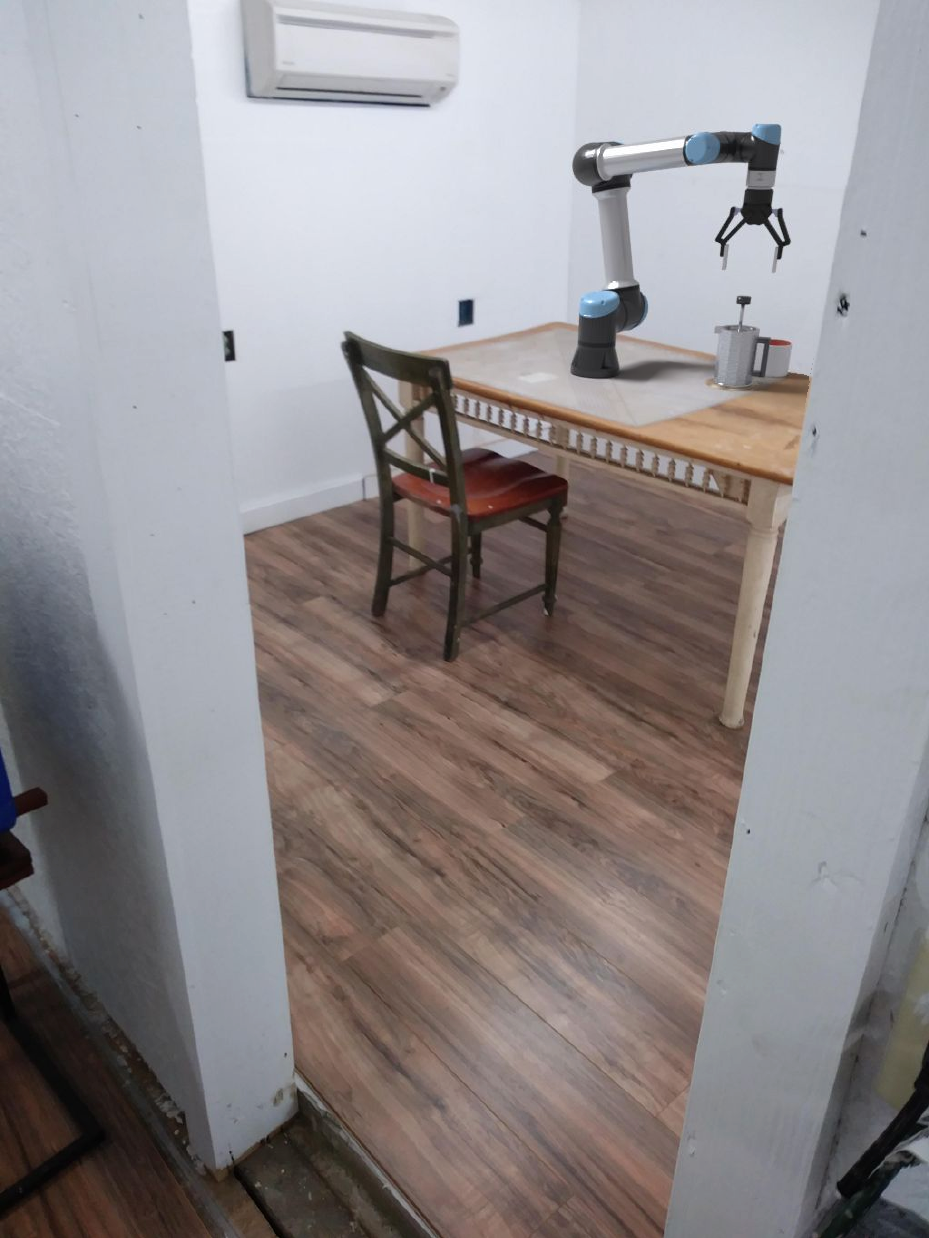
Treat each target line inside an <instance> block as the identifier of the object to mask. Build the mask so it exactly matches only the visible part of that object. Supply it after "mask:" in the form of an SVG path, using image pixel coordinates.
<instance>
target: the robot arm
mask: <svg viewBox="0 0 929 1238" xmlns="http://www.w3.org/2000/svg"><path fill="white" fill-rule="evenodd" d="M781 138H782V126H781V124H779V123H755V124H754V125H753V126H752V129H751V131H747V132H744V131H726V130H723V131H715V132H710V131H702V132H698V133H695V134H691V135H690V134H689V135H681V136H674V137H667V138H661V139H655V140H654V139H653V140H647V141H641V142H633V143H626V144H625V143H623V142H620V141H615V140H614V141H613V140H612V141H601V142H596V141H595V142H588V143H585V144H584V145H582V146H580V147H579V148H578V149H577V151H576V152H575V153H574V156H573V159H572V162H571V163H572V164H571V167H572V172H573V175H574V177H575V179H576V180H577V181H578V183H580V184H582V185H583V186H586V187H591V188H590V189H591V195H592V197H594V198H595V199H596V200H597V205H598V215H599V225H600V227H599V228H600V237H601V245H602V246H601V247H602V256H603V266H604V275H605V276H604V277H605V284H604V286H603V287H602V288H601V290H598V291H591V292H587V293H585V294H583V296H581V298H580V301H579V302H580V303H579V307H578V328H577V329H578V331H577V344H576V345H577V346H576V350H575V352H574V354H573V357H572V358H571V359H572V360H571V362H570V367H569V368H570V369H569V370H570V373H571V374H573V375H576V376H578V377H582V378H597V379H599V378H603V379H604V378H611V377H616V376H618V375H619V374H620V368H621V367H620V361H619V357H618V353H617V348H616V343H617V342H616V341H617V334H619V333H623V332H627V331H632V330H634V329H635V328H637V327H639V326H641V324H643V322H644V321H645V320H646V318H647V316H648V312H649V303H648V299H647V297H646V295H645V294H644V293H643V292H642V291H641V288H640V282H639V281H638V280H636V279H635V276H634V264H633V255H632V243H631V234H630V232H631V231H630V230H631V229H630V222H629V221H630V219H629V210H628V197H627V195H628V193H629V192H630V190H631V188H632V186H631V185H632V184H631V179H632V178H633V176H634V174H637V173H638V174H639V173H647V172H654V171H662V170H671V169H677V168H678V169H680V168H687V167H695V166H704V165H705V166H706V165H711V164H716V165H717V164H725V163H727V164H729V163H730V164H739V163H740V164H741V163H743V164H747V170H746V171H747V172H746V178H745V179H746V180H745V187H747V188H745V190H744V192H743V193H744V196H743V203H742V206H741V207H737V206H734V205H733V206H732V207H730V210H729V215H728V217H727V218H726V220H725V222H724V223H723V225H722V226H721V228H720V230H719V231H718V233H717V234H716V236H715V238H714V242H715V243H718V244H720V251H719V257H720V258H722V266H721V271H725V270H726V269H727V264H728V256H729V247H730V244H728V242H729V241H730V240H731V239H732V238H733V237H734V236H735V235H736V234H737V232H739V230H740V229H741V228H742V227H743V226H744V225H745V224H746V225H748V226H753V225H755V226H762V225H764V227H765V228H766V229H767V231H768V233H769V234H770V235H771V237H772V239H773V240H774V242H775V243H776V245H777V246H776V247H774V255H773V261H772V268H771V269H772V270H771V274H773V273H776V270H777V266H778V265H777V264H778V261H779V260H781V259H782V257H783V252H784V247H787V246H790V245H791V243H792V240H791V236H790V235H789V231H788V229H787V225H786V222H785V218H784V209H783V207H779V208H773V206H772V204H773V197H774V189H773V187H775V184H776V178H777V177H776V175H777V169H778V168H777V166H778V161H779V153H780V147H781V144H782V141H781ZM739 213H740V214H741V216H742V219H741V220H740V221H739V222H738V223H737V224H736V225H735V227H734V228H733V229H731V231H730V232H729V233H727V235H726V236H725V237H724V238H723V236H724V235H725V233H726V232H727V229H728V228H729V226H730V225H731V224H732V221H733V219H734V218H735V217H736V216H737V215H739ZM772 214H773V215H774V217H775V218H777V219H776V220H777V221H778V222H777V223H778V225H779V227H780V228H779V229H780V231H781V234H782V237H783V239H781V237H780V235H779V234H778V232H777V231H776V230H775V228H774V226H773V224H772V223H771V221H770V220H769V218H770V217H771V215H772Z"/></svg>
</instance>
